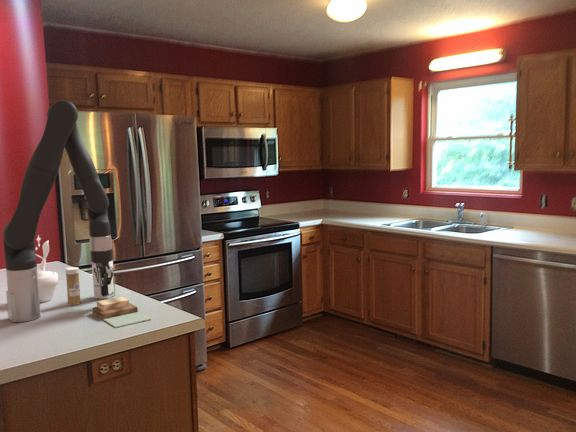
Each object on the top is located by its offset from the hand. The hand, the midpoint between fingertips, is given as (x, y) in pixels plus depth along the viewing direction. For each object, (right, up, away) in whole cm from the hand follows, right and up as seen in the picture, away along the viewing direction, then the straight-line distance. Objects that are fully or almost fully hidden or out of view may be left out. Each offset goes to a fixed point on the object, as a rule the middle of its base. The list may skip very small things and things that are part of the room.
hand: (104, 295), depth 190 cm
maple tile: (+5, -3, -6) cm, 9 cm away
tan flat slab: (+6, -5, -7) cm, 11 cm away
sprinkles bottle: (-13, -4, +4) cm, 14 cm away
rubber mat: (+13, -6, -15) cm, 21 cm away
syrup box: (-5, -3, +13) cm, 14 cm away
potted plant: (-27, -4, +9) cm, 29 cm away
